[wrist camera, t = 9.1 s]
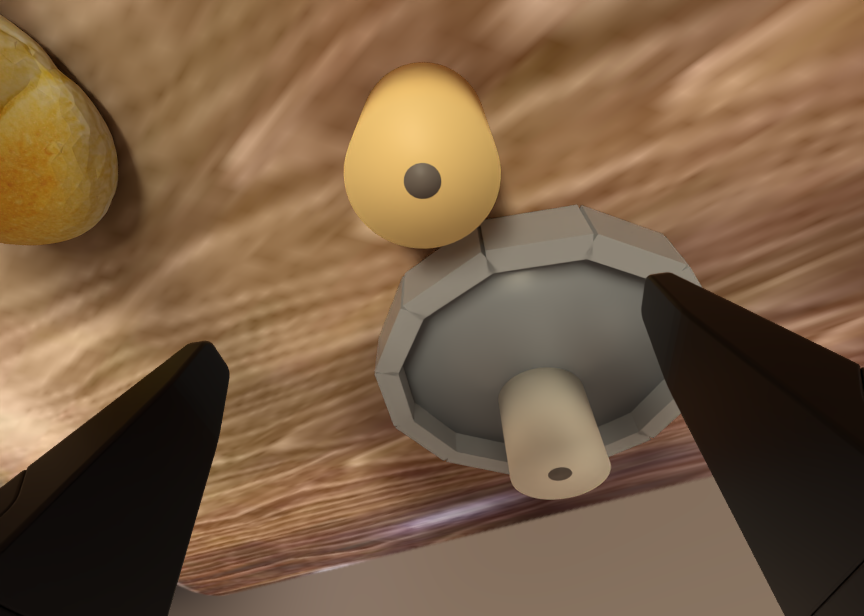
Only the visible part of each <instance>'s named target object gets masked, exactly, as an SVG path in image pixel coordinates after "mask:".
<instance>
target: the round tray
mask: <svg viewBox="0 0 864 616" xmlns="http://www.w3.org/2000/svg"><path fill="white" fill-rule="evenodd" d="M664 272H671V273H673V274H675V275H677V276H679V277H681V278H684V279H686V280H688V281H690V282H692V283H694V284H696V285H698V286H700V287H701V285H700V283H699V281H698V280H697V278H696V276H695V275H694V273H693V271H692V269H691V268H690V266H689V265H688V264H687V262H686V261H685V260H684V259H683V258H682V256H681V255H680V254H679V253H678V251H677V250H676V249H675V248H674V246H673V245H672V244H671V243H670V241H669V240H668V239H667V238H666V237H664V235H663V234H661V233H658V232H655V231H652V230H650V229H647V228H644V227H641V226H638V225H636V224H633V223H630V222H627V221H624V220H622V219H619V218H616V217H613V216H610V215H608V214H605V213H602V212H599V211H596V210H594V209H591V208H588V207H585V206H582V205H581V207H580V208H579V207H578V205H573V206H567V207H561V208H554V209H548V210H542V211H536V212H530V213H524V214H517V215H511V216H505V217H499V218H493V219H487V220H484V221H483V222H482V223H481V224H480V226H478V227H477V228H476V229H475V230H474V231H473V232H471V233H470V234H469V235H467V236H465V237H464V238H462V239H460V240H458V241H456V242H454V243H451V244H448V245H445V246H442V247H441V248H439V249H438V250H437V251H435V252H434V253H433V254H431V255H430V256H428V257H427V258H426V259H424V260H423V261H422V262H420V263H419V264H417V265H416V266H415V267H413V268H412V269H410V270H409V271H408V272H406V273H405V277H404V276H403V277H402V279H401V282H400V285H399V287H398V290H397V292H396V295H395V297H394V300H393V303H392V305H391V308H390V310H389V313H388V315H387V318H386V320H385V323H384V326H383V328H382V331H381V333H380V336H379V341H378V349H377V357H376V365H375V376H376V379H377V382H378V384H379V387H380V390H381V392H382V395H383V398H384V401H385V403H386V406H387V409H388V411H389V414H390V417H391V419H392V422H393V425H394V426H396V428H397V429H398V430H399V431H401V432H402V433H404V434H405V435H407V436H408V437H410V438H411V439H413V440H414V441H416V442H417V443H418V444H420V445H421V446H423V447H424V448H426V449H427V450H429V451H430V452H432V453H433V454H435V455H436V456H438V457H439V458H440V459H442V460H443V461H444V460H446V462H450V463H455V464H460V465H465V466H470V467H475V468H480V469H485V470H490V471H495V472H500V473H505V474H510V473H509V467H508V460H507V454H506V448H505V441H504V435H503V428H502V422H501V416H500V409H499V403H498V397H499V393H500V391H501V389H502V387H503V386H504V385H505V384H506V383H507V382H508V381H509V380H510V379H512V378H513V377H515V376H516V375H518V374H520V373H522V372H525V371H528V370H532V369H536V368H545V367H550V368H559V369H563V370H566V371H569V372H571V373H573V374H574V375H576V376H577V377H578V378H579V379H580V381H581V382H582V384H583V387H584V390H585V393H586V395H587V398H588V401H589V404H590V407H591V410H592V412H593V415H594V418H595V421H596V424H597V427H598V429H599V432H600V435H601V438H602V441H603V444H604V446H605V449H606V452H607V455H608V457H610V456H612V455H615V454H617V453H619V452H622V451H624V450H627V449H629V448H632V447H634V446H637V445H639V444H641V443H644V442H646V441H649V440H651V438H650V437H652V438H654V437H655V436H656V435H658V434H659V433H660V432H661V431H662V430H663V429H664V428H665V427H666V426H667V425H669V424H670V423H671V422H672V421H673V420H674V419H675V418H676V417H677V416H678V415H680V414H681V413H680V411H679V409H678V407H677V405H676V403H675V401H674V399H673V397H672V395H671V393H670V391H669V389H668V387H667V384H666V382H665V379H664V377H663V374H662V371H661V369H660V366H659V363H658V360H657V358H656V355H655V352H654V349H653V347H652V344H651V341H650V338H649V336H648V333H647V330H646V327H645V325H644V322H643V319H642V314H641V305H642V298H643V291H644V283H645V279H646V277H647V276H649V275H651V274H657V273H664Z"/></svg>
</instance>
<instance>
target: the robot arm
mask: <svg viewBox="0 0 864 616" xmlns="http://www.w3.org/2000/svg"><path fill="white" fill-rule="evenodd" d="M641 314H642V319H643V322H644V325H645V327H646V330H647V333H648V336H649V338H650V341H651V344H652V347H653V349H654V352H655V355H656V358H657V360H658V363H659V366H660V369H661V371H662V374H663V377H664V379H665V382H666V384H667V387H668V389H669V391H670V393H671V395H672V397H673V399H674V401H675V403H676V405H677V407H678V409H679V411H680V413H681V414H682V416H683V418H684V420H685V422H686V424H687V426H688V428H689V430H690V432H691V434H692V436H693V438H694V440H695V442H696V444H697V446H698V448H699V450H700V451H701V453H702V455H703V457H704V459H705V461H706V463H707V465H708V467H709V469H710V471H711V473H712V475H713V477H714V479H715V481H716V483H717V485H718V486H719V488H720V490H721V492H722V494H723V496H724V498H725V500H726V502H727V504H728V506H729V508H730V510H731V512H732V514H733V515H734V518H735V520H736V521H737V524H738V525H739V527H740V529H741V531H742V533H743V535H744V537H745V539H746V541H747V543H748V545H749V547H750V549H751V551H752V553H753V555H754V557H755V559H756V561H757V562H758V565H759V566H760V568H761V570H762V572H763V574H764V576H765V578H766V580H767V582H768V584H769V586H770V588H771V590H772V592H773V594H774V596H775V597H776V600H777V602H778V603H779V605H780V607H781V609H782V611H783V613H784V615H785V616H864V367H862V368H860V365H859V364H857V363H855V362H853V361H851V360H849V359H847V358H845V357H843V356H841V355H839V354H837V353H835V352H833V351H831V350H829V349H827V348H824V347H822V346H820V345H818V344H816V343H814V342H812V341H810V340H808V339H806V338H804V337H802V336H800V335H798V334H796V333H794V332H792V331H790V330H788V329H786V328H784V327H782V326H780V325H777V324H775V323H773V322H771V321H769V320H767V319H765V318H763V317H761V316H759V315H757V314H755V313H753V312H751V311H749V310H747V309H745V308H743V307H741V306H739V305H737V304H735V303H733V302H731V301H728V300H726V299H724V298H722V297H720V296H718V295H716V294H714V293H712V292H710V291H708V290H706V289H704V288H702V287H700V286H698V285H696V284H694V283H692V282H690V281H688V280H686V279H684V278H681V277H679V276H677V275H675V274H673V273H671V272H664V273H657V274H651V275H649V276H647V277H646V279H645V283H644V291H643V298H642V305H641ZM228 383H229V369H228V366H227V365H226V363H225V362H224V360H223V359H222V357H221V356H220V354H219V353H218V351H217V350H216V348H215V347H214V345H213V344H212V343H211V342H209V341H200V342H194V343H190V344H187V345H186V346H185V347H183V348H182V349H181V350H179V351H178V352H177V353H176V354H174V355H173V356H172V357H170V358H169V359H168V360H166V361H165V362H164V363H163V364H161V365H160V366H159V367H157V368H156V369H155V370H153V371H152V372H151V373H150V374H148V375H147V376H146V377H144V378H143V379H142V380H140V381H139V382H138V383H137V384H135V385H134V386H133V387H131V388H130V389H129V390H127V391H126V392H125V393H123V394H122V395H121V396H120V397H118V398H117V399H116V400H114V401H113V402H112V403H110V404H109V405H108V406H107V407H105V408H104V409H103V410H101V411H100V412H99V413H97V414H96V415H95V416H94V417H92V418H91V419H90V420H88V421H87V422H86V423H84V424H83V425H82V426H80V427H79V428H78V429H77V430H75V431H74V432H73V433H71V434H70V435H69V436H67V437H66V438H65V439H64V440H62V441H61V442H60V443H58V444H57V445H56V446H54V447H53V448H52V449H51V450H49V451H48V452H47V453H45V454H44V455H43V456H41V457H40V458H39V459H38V460H36V461H35V462H34V463H32V464H31V465H30V466H28V468H27V470H23V471H22V472H20V473H19V474H18V475H16V476H15V477H14V478H13V479H11V480H10V481H9V482H7V483H6V484H5V485H4V486H2V487H1V488H0V616H168V614H169V610H170V607H171V603H172V600H173V596H174V593H175V590H176V586H177V583H178V579H179V576H180V572H181V569H182V565H183V562H184V558H185V555H186V551H187V548H188V545H189V541H190V538H191V534H192V531H193V527H194V524H195V520H196V517H197V513H198V510H199V506H200V503H201V500H202V496H203V493H204V489H205V486H206V482H207V479H208V475H209V472H210V468H211V465H212V461H213V458H214V455H215V451H216V447H217V443H218V439H219V434H220V430H221V424H222V418H223V412H224V406H225V401H226V395H227V389H228Z"/></svg>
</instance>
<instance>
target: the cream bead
mask: <svg viewBox="0 0 864 616" xmlns="http://www.w3.org/2000/svg"><path fill="white" fill-rule="evenodd" d="M498 403H499V409H500V416H501V422H502V428H503V435H504V441H505V448H506V454H507V460H508V467H509V473H510V479H511V483H512V485H513V486H514V488H515V489H516V490H518V491H519V492H521V493H522V494H524V495H527V496H530V497H533V498H538V499H548V500H554V499H565V498H570V497H575V496H578V495H581V494H584V493H586V492H589V491H591V490H593V489H595V488H596V487H598V486H599V485H600V484H601V483H603V482H604V481H605V480H606V478H607V477H608V475H609V473H610V470H611V464H610V461H609V458H608V455H607V452H606V449H605V446H604V444H603V441H602V438H601V435H600V432H599V429H598V427H597V424H596V421H595V418H594V415H593V412H592V410H591V407H590V404H589V401H588V398H587V395H586V393H585V390H584V387H583V384H582V382H581V381H580V379H579V378H578V377H577V376H576V375H574V374H573V373H571V372H569V371H566V370H563V369H559V368H550V367H545V368H536V369H532V370H528V371H525V372H522V373H520V374H518V375H516V376H515V377H513V378H512V379H510V380H509V381H508V382H507V383H506V384H505V385H504V386H503V387H502V389H501V391H500V393H499V397H498Z"/></svg>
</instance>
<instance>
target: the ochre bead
mask: <svg viewBox="0 0 864 616" xmlns="http://www.w3.org/2000/svg"><path fill="white" fill-rule="evenodd" d="M500 180H501V167H500V160H499V156H498V152H497V149H496V146H495V143H494V140H493V137H492V134H491V131H490V128H489V125H488V122H487V119H486V116H485V113H484V110H483V107H482V104H481V102H480V100H479V98H478V95H477V94H476V92H475V91H474V89H473V88H472V86H471V85H470V84H469V83H468V82H467V81H466V80H465V79H464V78H463V77H462V76H461V75H459V74H458V73H456V72H455V71H454V70H451V69H449V68H447V67H445V66H442V65H439V64H435V63H429V62H418V63H410V64H407V65H403V66H401V67H398V68H396V69H394V70H392V71H391V72H389V73H388V74H386V75H385V76H384V77H383V78H382V79H380V81H379V82H378V83H377V84H376V85H375V86H374V88H373V89H372V91H371V92H370V94H369V96H368V98H367V100H366V103H365V105H364V108H363V110H362V113H361V116H360V118H359V121H358V123H357V126H356V129H355V131H354V134H353V136H352V139H351V142H350V144H349V147H348V150H347V153H346V157H345V163H344V182H345V188H346V192H347V195H348V198H349V201H350V203H351V205H352V207H353V209H354V211H355V212H356V214H357V215H358V216H359V218H360V219H361V220H362V221H363V222H364V224H365V225H366V226H367V227H368V228H370V229H371V230H372V231H373V232H374V233H376V234H377V235H379V236H380V237H382V238H384V239H386V240H388V241H390V242H392V243H395V244H398V245H401V246H405V247H410V248H424V249H427V248H436V247H441V246H445V245H448V244H451V243H454V242H456V241H458V240H460V239H462V238H464V237H465V236H467V235H469V234H470V233H471V232H473V231H474V230H475V229H476V228H477V227H478V226H479V225H480V224H481V223H482V222H483V221H484V220H485V218H486V217H487V216H488V214H489V213H490V211H491V209H492V208H493V206H494V203H495V201H496V199H497V196H498V192H499V188H500Z"/></svg>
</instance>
